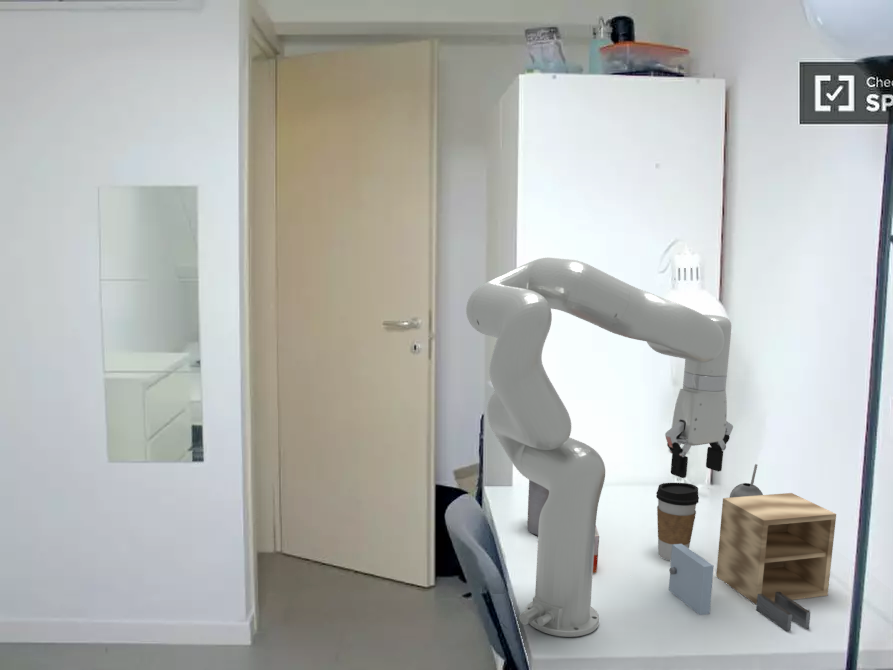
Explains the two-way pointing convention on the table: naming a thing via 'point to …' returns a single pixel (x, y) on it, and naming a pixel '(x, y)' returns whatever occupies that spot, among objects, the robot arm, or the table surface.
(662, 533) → the coffee cup
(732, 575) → the cabinet
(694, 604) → the door panel
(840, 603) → the table surface
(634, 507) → the table surface
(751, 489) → the beverage cup
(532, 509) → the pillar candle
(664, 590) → the table surface
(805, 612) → the hinge clips
